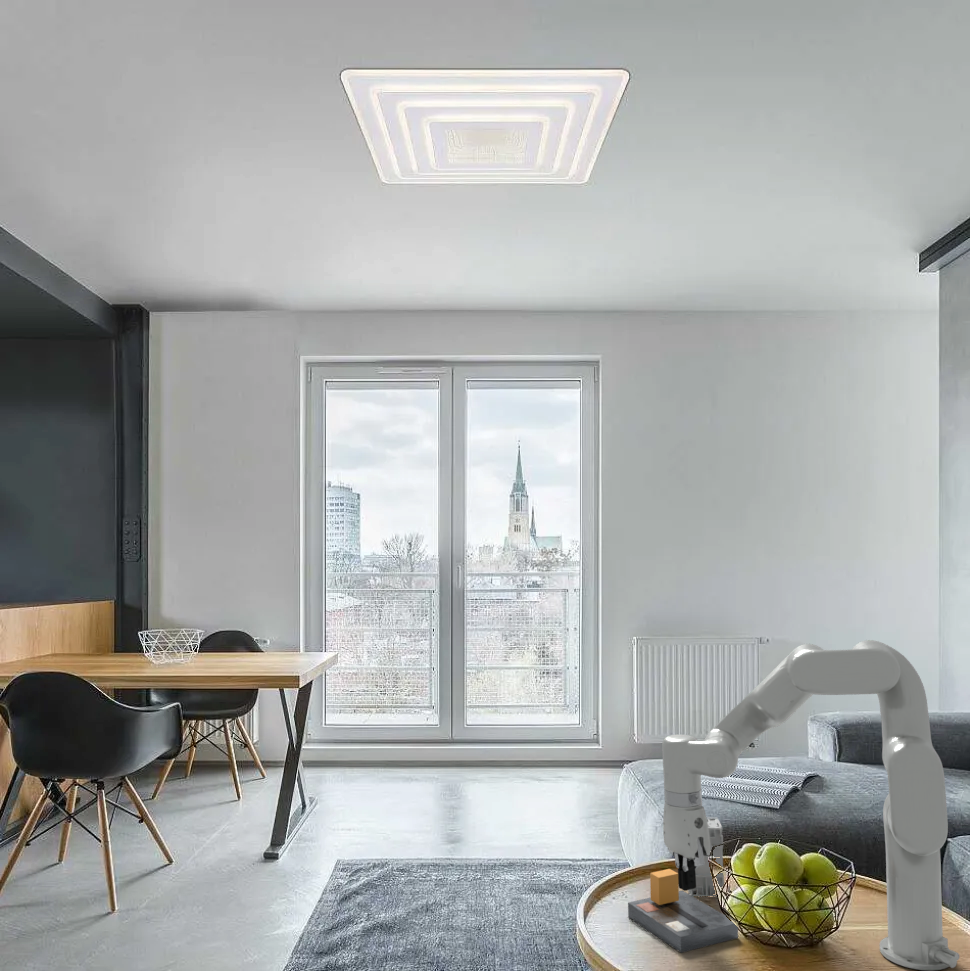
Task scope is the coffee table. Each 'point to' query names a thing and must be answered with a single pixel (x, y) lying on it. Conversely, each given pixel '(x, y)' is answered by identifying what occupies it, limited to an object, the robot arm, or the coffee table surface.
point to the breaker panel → (683, 922)
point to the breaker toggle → (664, 886)
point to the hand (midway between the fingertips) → (687, 888)
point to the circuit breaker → (703, 872)
